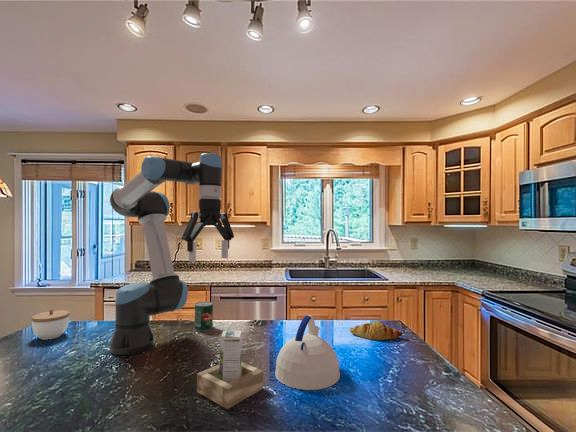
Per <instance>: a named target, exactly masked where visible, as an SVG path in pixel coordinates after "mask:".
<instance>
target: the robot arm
mask: <svg viewBox="0 0 576 432" xmlns="http://www.w3.org/2000/svg"><path fill="white" fill-rule="evenodd" d="M222 163H223V162H222V156H220V154H217V153H210V152H209V153H208V152H205V153H204V152H203V153H201V154H200V156H199V160H198V162H197V161H196V162H191V161H184V160H178V159H171V158H166V157H161V156H152V155H148V156H146V157H144V158H143V161H142V162H141V166H140V168H141V170H140V171H139V172H138V173H137V174H136V175H135V176H134V177H133V178H131V179H130V180H129V181H127V182H126V184H124V185H121V186H119V187H117V188H115V189H114V190H113V191H112V192H111V193H110V197H109V203H110V206H111V208H112V210H114V211H115V213H117V214H119V215H120V216H123V217H125V218H137V220H138V224H140V225H141V226H142V227H143V232H144V237H145V243H146V249H147V255H148V260H149V265H150V271H151V276H152V278H151V279H150V281H149V282H148V281H147V282H145V281H141V282H134V283H129V284H126V285H123V286H121V287H120V288H118V289H117V290H116V293H115V301H114V304H115V319H114V320H115V325H114V326H115V328H114V331H113V334H112V337H111V340H110V343H109V353H111V354H113V355H117V356H128V355H135V354H136V355H137V354H140V353H143V352H146V351H148V350H150V349H152V348H154V345H155V337H154V334H153V331H152V327H151V323H150V320H151V319H150V318H151V316H156V315H160V314H165V313H169V312H170V313H171V312H174V311H177V310H178V311H179V310H181V309H182V308H183V307H185V306H186V304H187V301H188V295H189V288H188V285H187V283H186V282H185V281H184V280H180V276H179V274H177V273H175V270H174V269H175V268H174V265H173V260H172V254H171V249H170V247H169V240H168V235H167V231H166V225H165V221H166V220H167V217H168V216H169V214H170V211H171V210H170V209H171V207H170V206H171V205H170V201H169V198H168V197H167V195H165V194H164V193H162V192H158V191H153V190H154V189H156V188H157V187H158V186H160V185H162V184H163V183H164V182H166V181H167V182H175V183H184V184H186V185H196V184H199V186H198V197H199V200H198V209H199V212H198V211H192V212H191V213H190V218H189V221H188V223H187V224H186V225H187V226H186V227H185V229H184V232H183V235H182V236H181V240H183V241H185V242H186V246H187V248H186V250H187V252H188V262H191V263H195V262H197V261H196V258H197V250H196V249H197V242H196V241H195V240H196V239H197V237H198V236H199V234H200V232H202V230H203V229H204V228H205V227H206V226H214V227H215V228H216V230H217V231H218V233H219V234H220V236H221V237H222V240H221V255H220V256H221V257H220V258H221V259H229V249H230V241H232V239H234V238H235V234H234V232H233V229H232V226H231V224H230V221H229V219H228V218H229V217H228V216H229V215H228V213H227V212H221V210H222V199H221V198H222V178H223V177H222V175H223V174H222V173H223V165H222ZM198 219H199V220H198Z"/></svg>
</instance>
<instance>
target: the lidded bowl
mask: <svg viewBox="0 0 576 432" xmlns="http://www.w3.org/2000/svg"><path fill="white" fill-rule="evenodd" d="M70 315H71V313H70V310H66V309H65V310H64V309H62V310H61V309H60V310H57V309H56V310H54V309H49V311H44V312H40V313H36V314H35V315H32V316H31V328H32V332H33V334H34V335H35V336H36V337H38V338H39V339H40V340H41V339H42V341H43V340H44V341H45V340H46V341H47V340H48V339H49V340H53V339H57V338H60V337H61V336H62V335H63V333H64V332H66V330H67V329H68V326H69V324H70Z"/></svg>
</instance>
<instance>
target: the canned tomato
mask: <svg viewBox="0 0 576 432" xmlns="http://www.w3.org/2000/svg"><path fill="white" fill-rule="evenodd" d="M213 310H214V303H213V302H212V301H199V302H196V303H194V330H195V331H196V332H208V331H212V329H213V328H214V327H213V326H214V325H213V324H214V323H213V322H214V321H213V319H214V316H213V315H214V311H213Z"/></svg>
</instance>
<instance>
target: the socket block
mask: <svg viewBox="0 0 576 432" xmlns="http://www.w3.org/2000/svg"><path fill="white" fill-rule="evenodd" d="M219 367H220V363H219V364H217V365H214V366H211V367H210V368H207V369H204V370H203V371H199V372H198V373H197V374H196V393H198V394H199V395H201V396H203V397H205V398H207V399H208V400H210V401H211V402H214V403H216V404H217V405H219V406H220V407H222V408H224V409H227V410H229V409H230V408H232V407H234V406H236V405H238V404H239V403H241V402H242V401H244V400H246V399H247V398H249V397H251V396H253V395H254V394H256V393H258V392H259V391H261V390H264V370H263V369H260V368H258V367H255V366H252V365H250V364H248V363H246V362H243V361H242V364H241V378H239V379H237V380H235V381H233V382H231V383H229V384H228V383H226V382H224V381H222V380H220V379H219Z"/></svg>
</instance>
